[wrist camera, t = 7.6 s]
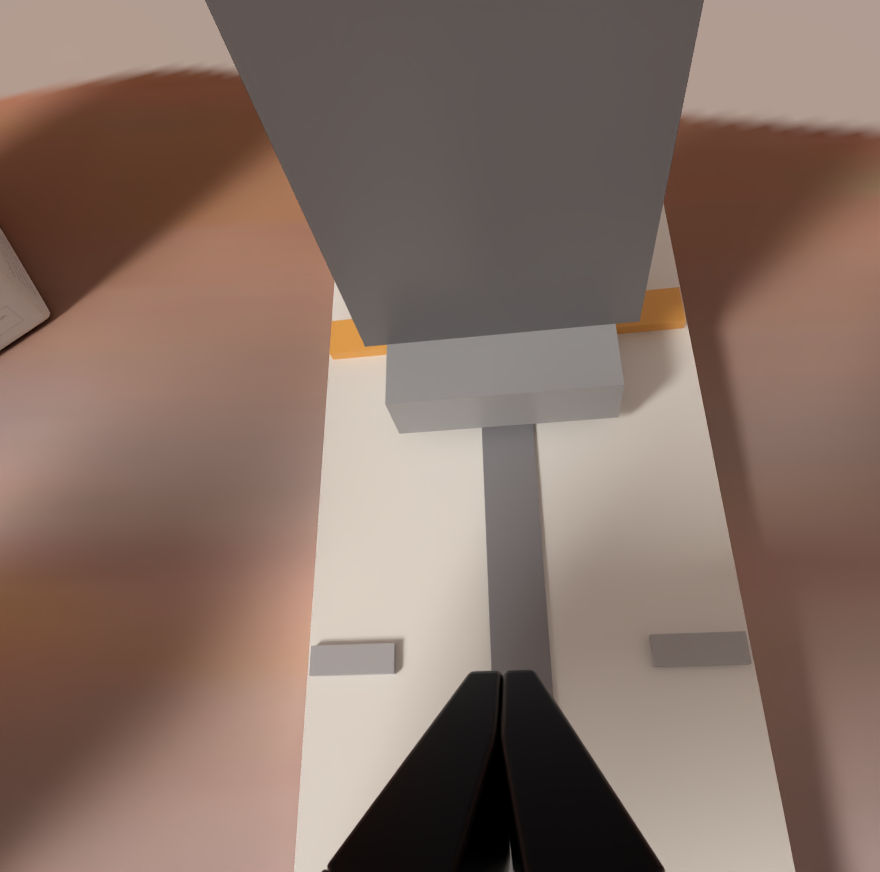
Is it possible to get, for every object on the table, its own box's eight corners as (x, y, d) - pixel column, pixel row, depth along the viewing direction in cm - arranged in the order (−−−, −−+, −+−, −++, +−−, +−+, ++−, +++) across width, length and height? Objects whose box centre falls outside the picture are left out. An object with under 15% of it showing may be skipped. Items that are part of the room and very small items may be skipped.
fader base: (826, 1162, 11) (871, 1229, 10) (303, 1129, 12) (266, 1185, 11) (653, 226, 20) (662, 180, 18) (352, 259, 21) (335, 218, 19)
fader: (641, 415, 15) (787, -148, 6) (378, 435, 16) (122, -33, 6) (609, 210, 18) (674, -416, 8) (384, 235, 19) (208, -308, 9)
